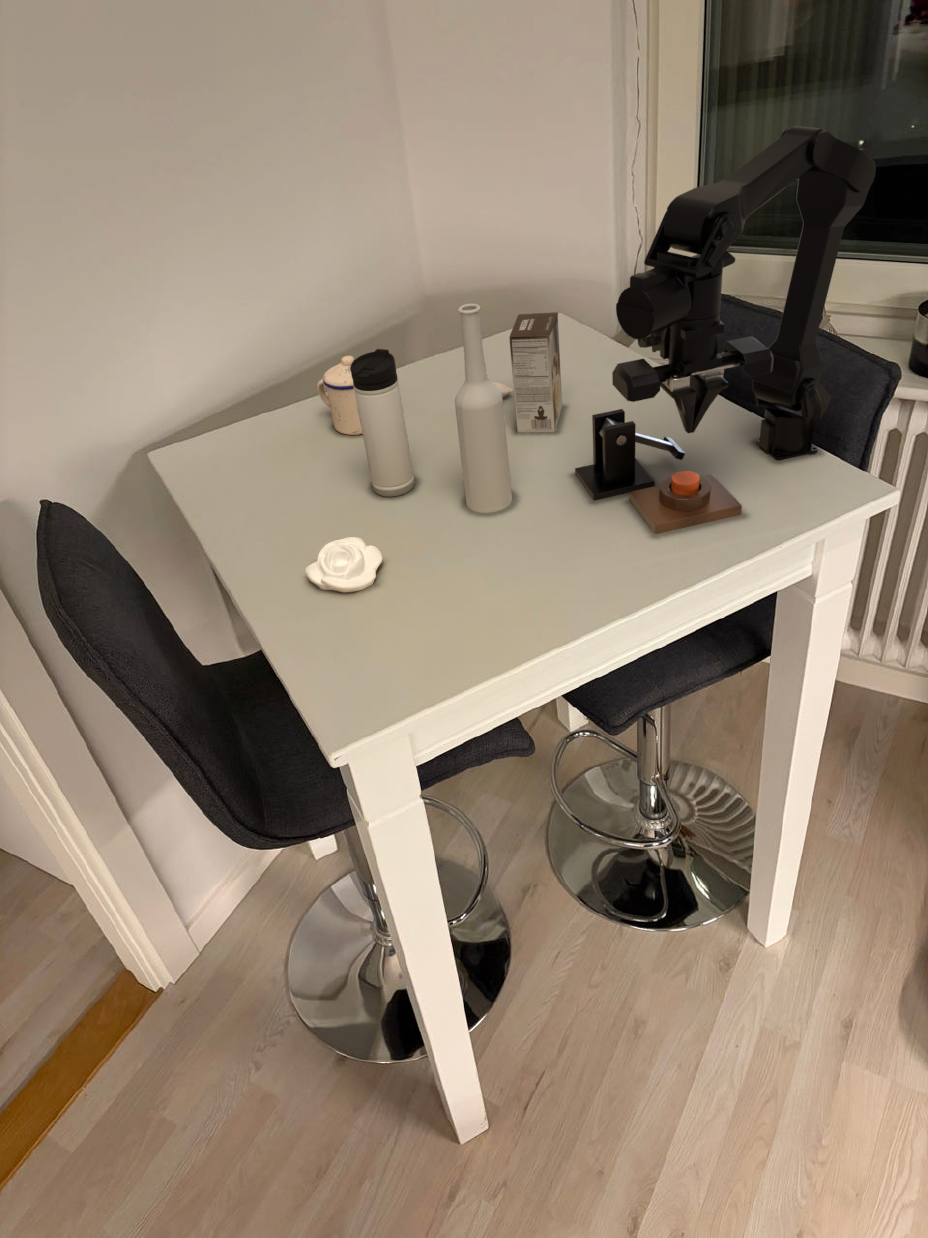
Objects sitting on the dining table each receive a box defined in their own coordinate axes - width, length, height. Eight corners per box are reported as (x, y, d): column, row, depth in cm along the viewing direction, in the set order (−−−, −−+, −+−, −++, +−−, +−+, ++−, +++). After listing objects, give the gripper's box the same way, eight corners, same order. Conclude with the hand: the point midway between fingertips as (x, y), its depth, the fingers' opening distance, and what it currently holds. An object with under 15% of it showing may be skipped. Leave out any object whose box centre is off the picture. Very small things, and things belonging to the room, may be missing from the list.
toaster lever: (665, 448, 134) (673, 433, 133) (679, 464, 130) (687, 449, 129) (595, 428, 130) (602, 413, 128) (607, 444, 126) (615, 428, 124)
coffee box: (524, 407, 154) (517, 312, 144) (563, 407, 153) (558, 310, 143) (516, 433, 147) (508, 335, 137) (556, 433, 146) (551, 334, 136)
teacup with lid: (397, 415, 157) (386, 349, 150) (366, 439, 151) (353, 372, 144) (340, 406, 162) (326, 341, 155) (308, 429, 156) (293, 363, 149)
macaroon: (485, 392, 160) (484, 379, 159) (514, 391, 159) (513, 377, 158) (482, 404, 157) (481, 390, 155) (512, 402, 156) (511, 388, 154)
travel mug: (423, 477, 139) (403, 349, 127) (403, 499, 135) (380, 369, 123) (386, 472, 142) (364, 346, 129) (365, 494, 137) (340, 366, 125)
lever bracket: (633, 462, 136) (634, 400, 130) (654, 488, 130) (656, 424, 124) (575, 475, 135) (572, 413, 129) (593, 502, 129) (592, 438, 123)
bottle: (488, 484, 136) (468, 294, 118) (521, 498, 132) (506, 303, 114) (456, 504, 132) (431, 311, 115) (489, 519, 128) (469, 321, 111)
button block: (711, 484, 129) (712, 461, 127) (741, 516, 122) (743, 493, 120) (629, 502, 128) (629, 480, 126) (655, 535, 121) (655, 512, 119)
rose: (364, 516, 124) (389, 551, 117) (370, 544, 127) (394, 580, 119) (292, 539, 121) (313, 576, 114) (300, 567, 124) (321, 605, 117)
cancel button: (692, 480, 125) (692, 468, 124) (703, 492, 122) (704, 481, 121) (666, 485, 124) (667, 474, 123) (677, 498, 122) (678, 487, 120)
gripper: (737, 276, 116) (728, 392, 126) (595, 304, 114) (598, 419, 124) (781, 304, 108) (768, 427, 117) (629, 335, 105) (629, 457, 115)
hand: (689, 431), depth 118 cm, fingers closed
